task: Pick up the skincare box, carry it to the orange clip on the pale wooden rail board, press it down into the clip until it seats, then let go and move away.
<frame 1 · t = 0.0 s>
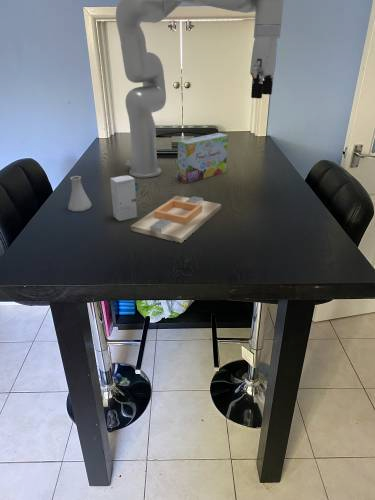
hand: (261, 96, 117), 31 cm above the table, tool pointing down, fingers open, 9 cm apart
rail board: (178, 218, 112), on the table
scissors: (129, 196, 131), on the table
snack box: (202, 177, 147), on the table
flask: (80, 208, 120), on the table
skincare box: (125, 217, 114), on the table
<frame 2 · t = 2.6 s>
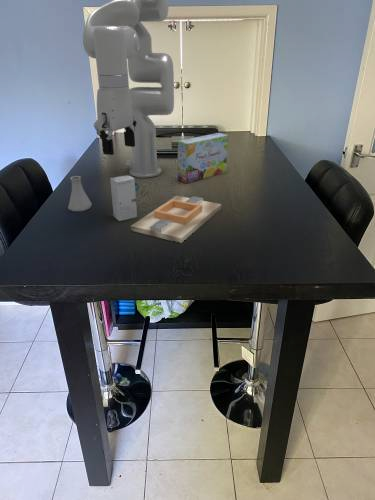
hand: (119, 150, 104), 20 cm above the table, tool pointing down, fingers open, 9 cm apart
nothing on the table moved.
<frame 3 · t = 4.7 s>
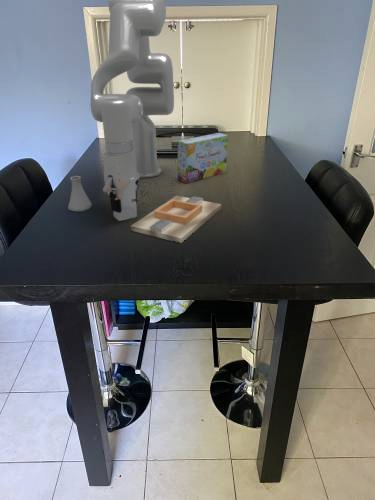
hand: (124, 206, 112), 3 cm above the table, tool pointing down, fingers closed on skincare box, 7 cm apart
skincare box: (125, 217, 114), on the table, touching gripper
everything else where it was.
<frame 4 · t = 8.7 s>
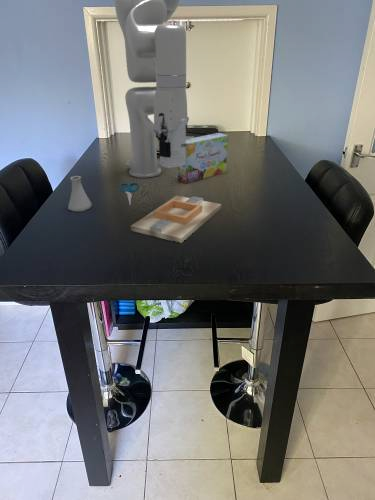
hand: (172, 152, 103), 20 cm above the table, tool pointing down, fingers closed on skincare box, 7 cm apart
skincare box: (173, 165, 105), point 16 cm above the table, touching gripper
everything else where it was.
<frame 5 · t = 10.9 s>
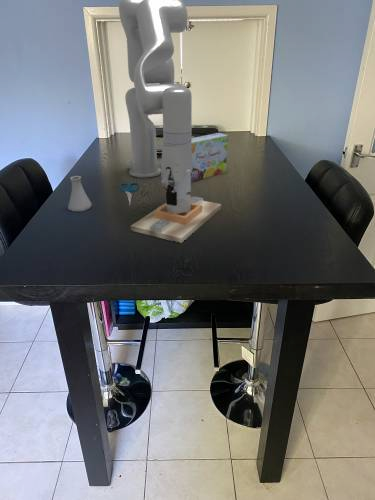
hand: (178, 199, 109), 6 cm above the table, tool pointing down, fingers closed on skincare box, 7 cm apart
skincare box: (178, 210, 111), point 3 cm above the table, touching gripper
everything else where it was.
when the fingers open (5 cm above the table, at t = 12.5 s): skincare box stays where it is, resting on rail board.
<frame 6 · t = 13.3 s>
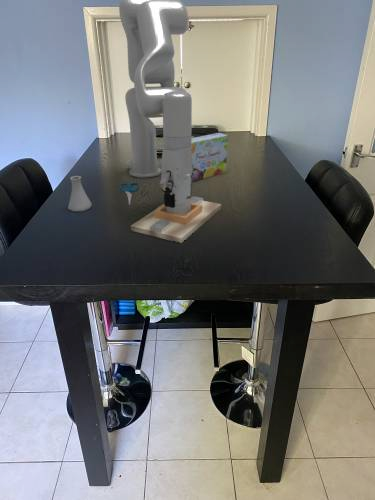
hand: (178, 200, 110), 6 cm above the table, tool pointing down, fingers open, 9 cm apart
skincare box: (178, 214, 112), point 1 cm above the table, touching rail board
everything else where it was.
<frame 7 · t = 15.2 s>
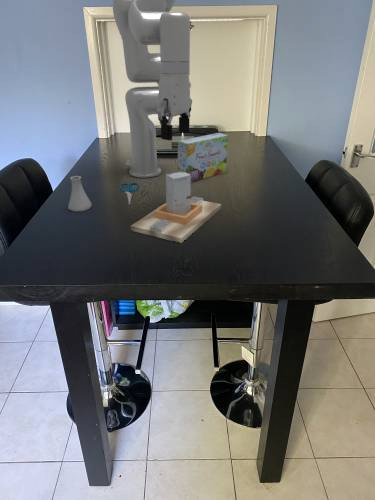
hand: (175, 135, 106), 23 cm above the table, tool pointing down, fingers open, 9 cm apart
nothing on the table moved.
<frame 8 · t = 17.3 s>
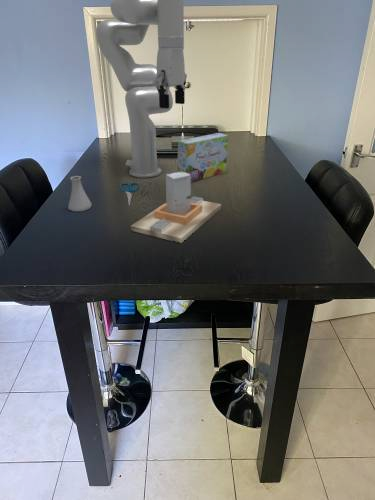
hand: (172, 105, 119), 28 cm above the table, tool pointing down, fingers open, 9 cm apart
nothing on the table moved.
at the end: skincare box 0.1 cm off-centre on the rail board, point 1.3 cm above the rail board's base; skincare box tilted 0°; the gripper is holding nothing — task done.
